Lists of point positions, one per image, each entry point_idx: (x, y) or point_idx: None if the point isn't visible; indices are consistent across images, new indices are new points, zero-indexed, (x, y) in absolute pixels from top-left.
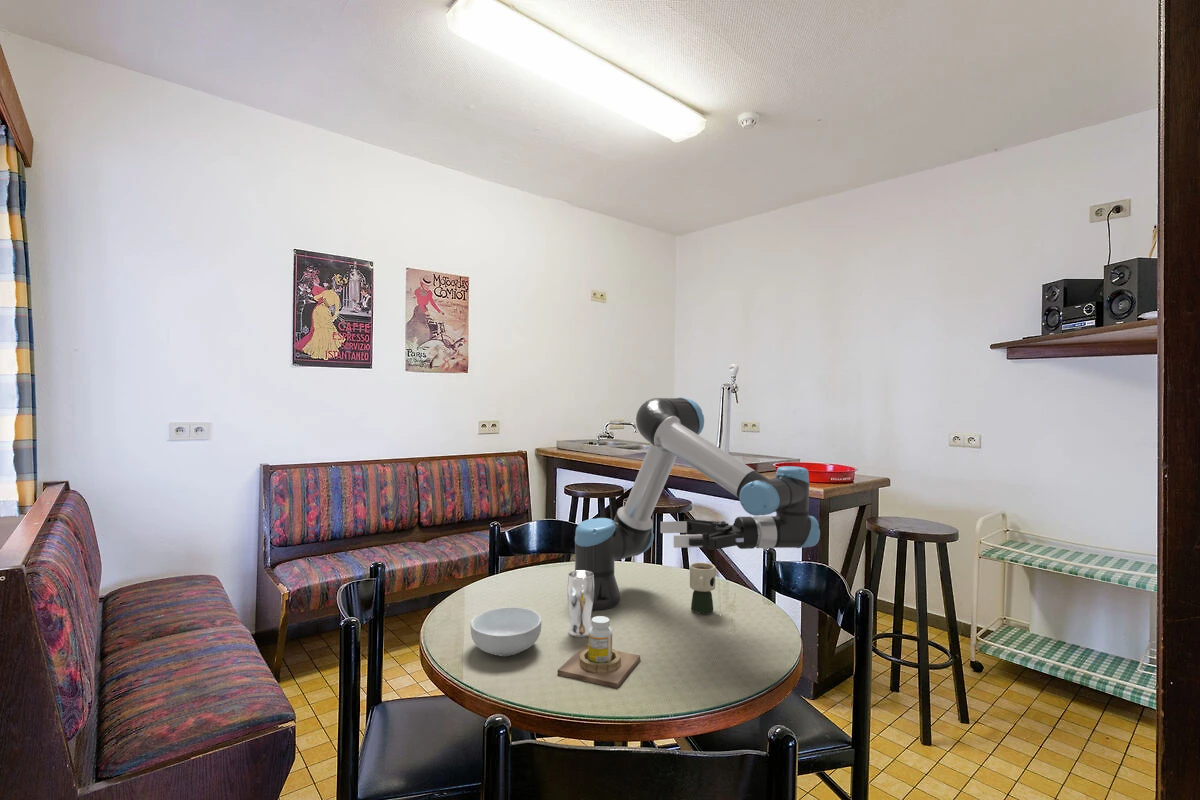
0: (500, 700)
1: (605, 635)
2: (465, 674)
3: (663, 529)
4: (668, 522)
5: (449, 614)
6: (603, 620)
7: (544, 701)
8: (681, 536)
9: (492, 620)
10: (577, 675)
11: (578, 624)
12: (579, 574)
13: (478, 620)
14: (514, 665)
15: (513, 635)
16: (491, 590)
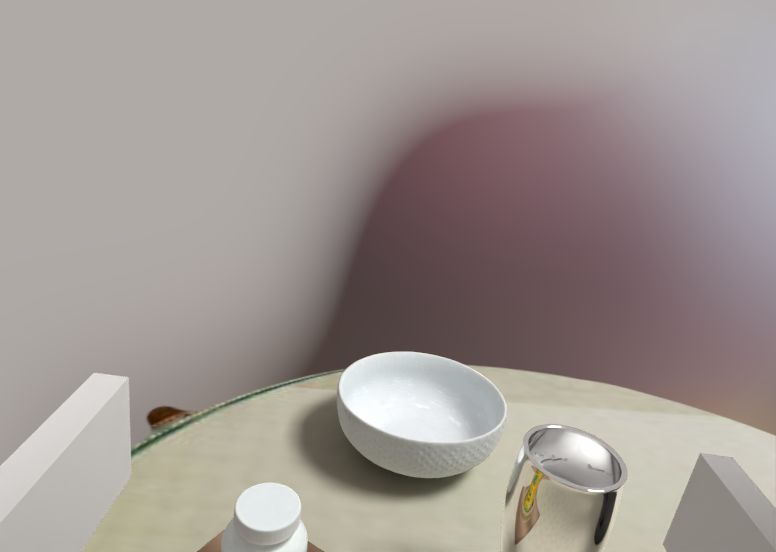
0: (189, 419)
1: (222, 542)
2: (311, 390)
3: (687, 534)
4: (745, 517)
5: (581, 390)
6: (255, 510)
7: (141, 475)
8: (52, 426)
9: (478, 400)
10: (208, 544)
11: None
12: (616, 473)
13: (448, 370)
14: (328, 451)
15: (339, 393)
16: (762, 457)
